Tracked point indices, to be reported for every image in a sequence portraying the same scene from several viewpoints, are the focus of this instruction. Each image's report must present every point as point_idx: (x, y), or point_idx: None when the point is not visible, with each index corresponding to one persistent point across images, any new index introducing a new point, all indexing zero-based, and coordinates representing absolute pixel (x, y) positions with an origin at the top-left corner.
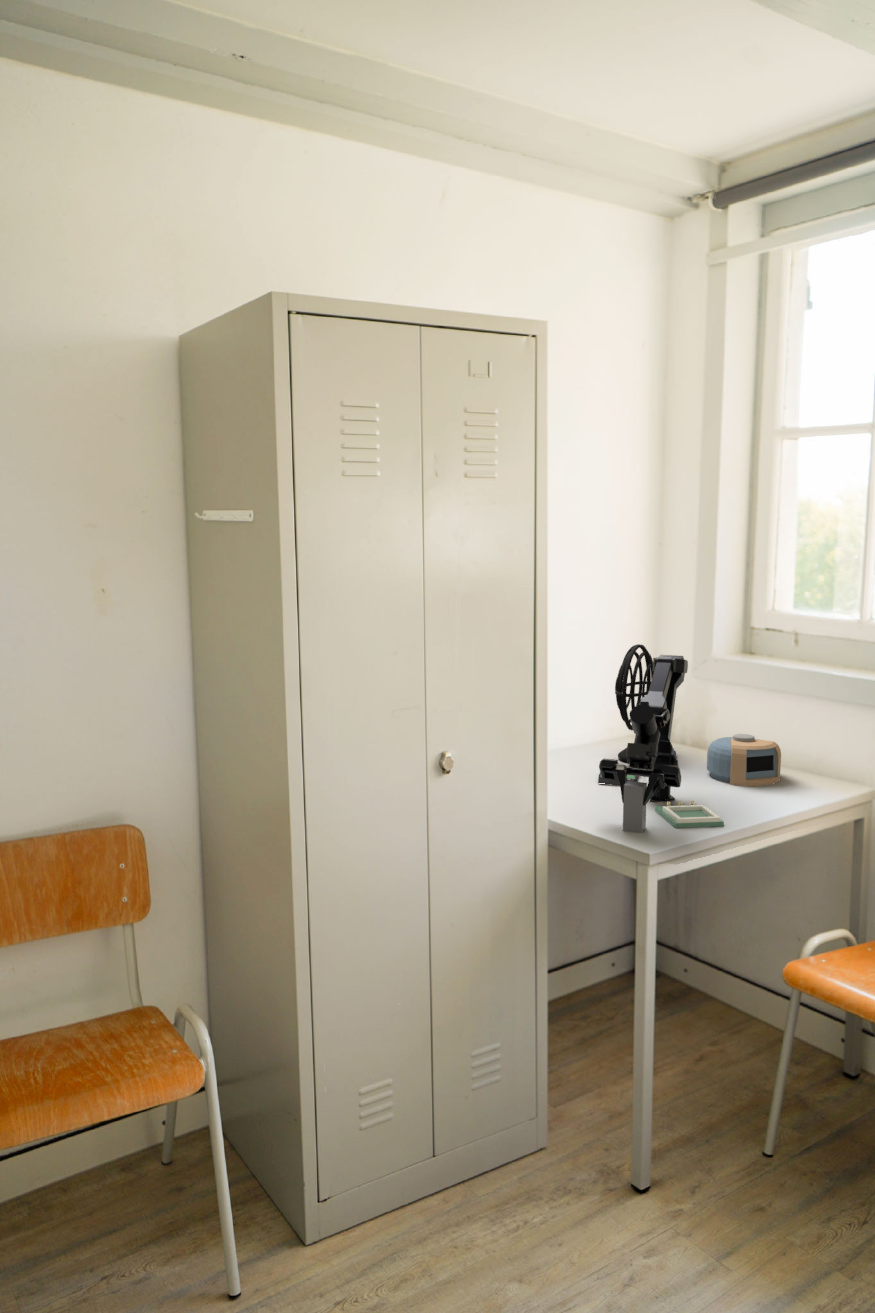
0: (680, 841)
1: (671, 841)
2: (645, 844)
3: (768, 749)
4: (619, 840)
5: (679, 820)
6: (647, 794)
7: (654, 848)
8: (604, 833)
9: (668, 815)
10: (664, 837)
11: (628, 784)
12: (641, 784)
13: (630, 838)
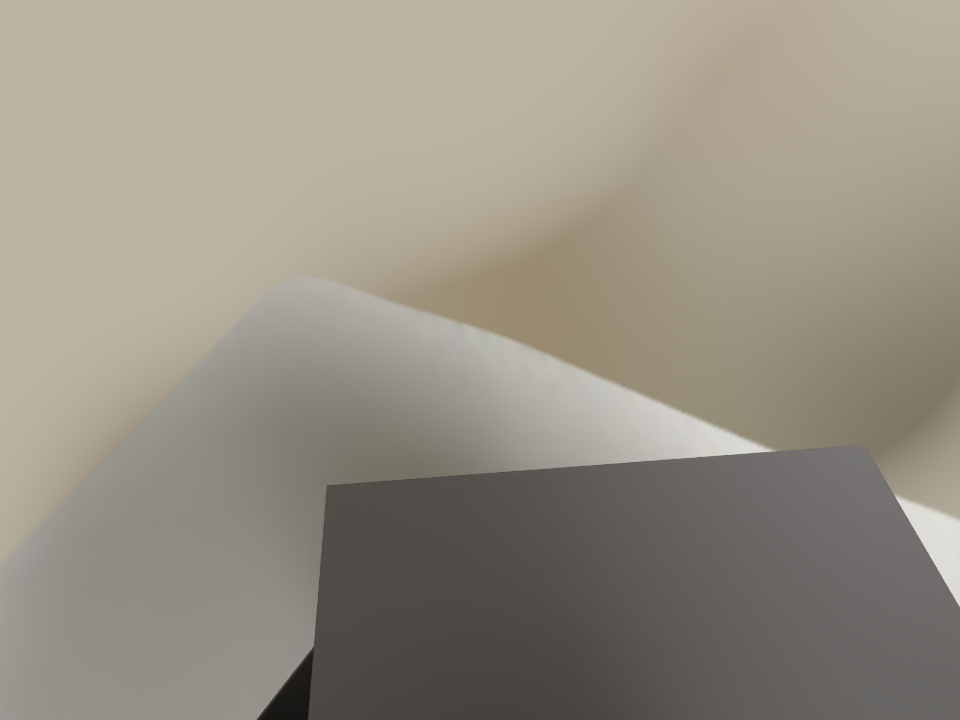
0: (85, 543)
1: (162, 508)
2: (339, 371)
3: None
4: (500, 371)
5: None
6: (283, 713)
7: (278, 332)
8: (636, 451)
9: None
10: (217, 581)
11: (813, 543)
12: None
13: (453, 434)
